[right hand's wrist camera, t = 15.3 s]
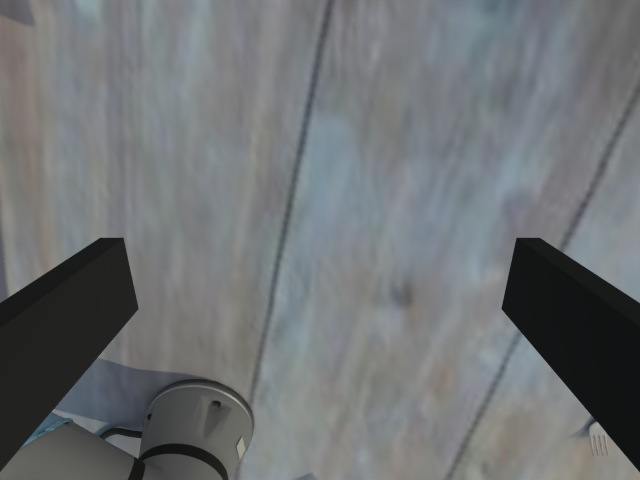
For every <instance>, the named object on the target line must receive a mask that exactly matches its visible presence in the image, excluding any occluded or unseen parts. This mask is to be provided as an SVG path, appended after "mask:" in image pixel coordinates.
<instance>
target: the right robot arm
mask: <svg viewBox="0 0 640 480" xmlns="http://www.w3.org/2000/svg"><path fill="white" fill-rule="evenodd" d="M137 310H138V304H137V299H136V295H135V290H134V285H133V281H132V276H131V271H130V267H129V262H128V257H127V253H126V248H125V243H124V239H123V238H99V239H98V240H96V241H95V242H93V243H92V244H90V245H89V246H87V247H86V248H84V249H83V250H81V251H80V252H78V253H76V254H75V255H73V256H72V257H70V258H69V259H67V260H66V261H64V262H63V263H61V264H60V265H58V266H57V267H55V268H53V269H52V270H50V271H49V272H47V273H46V274H44V275H43V276H41V277H40V278H38V279H37V280H35V281H34V282H32V283H30V284H29V285H27V286H26V287H24V288H23V289H21V290H20V291H18V292H17V293H15V294H14V295H12V296H11V297H9V298H7V299H6V300H4V301H3V302H1V303H0V480H229V479H230V477H231V476H232V474H233V472H234V471H235V469H236V467H237V465H238V464H239V462H240V460H241V458H242V456H243V455H244V453H245V452H246V451H247V449H248V447H249V444H250V442H251V439H252V435H253V430H254V417H253V414H252V411H251V409H250V407H249V405H248V404H247V403H246V401H245V400H244V399H243V398H242V397H241V396H240V395H239V394H237V393H236V392H235V391H233V390H231V389H230V388H228V387H226V386H224V385H221V384H218V383H215V382H211V381H205V380H186V381H181V382H177V383H174V384H171V385H169V386H167V387H166V388H164V389H163V390H161V391H160V392H159V393H158V394H157V395H156V396H155V398H154V399H153V401H152V403H151V405H150V407H149V408H148V411H147V414H146V416H145V420H144V425H143V432H140V431H132V430H127V429H123V428H114V429H110V430H108V431H106V432H105V433H104V434H102V435H101V436H100V437H98V436H96V435H95V434H93V433H91V432H89V431H88V430H86V429H84V428H83V427H81V426H79V425H77V424H76V423H74V422H73V420H72V419H70V418H63V417H61V416H59V415H57V414H55V413H53V412H52V410H53V409H54V408H55V407H56V406H57V405H58V403H59V402H60V401H61V400H62V399H63V397H64V396H65V395H66V394H67V393H68V392H69V390H70V389H71V388H72V387H73V386H74V384H75V383H76V382H77V381H78V380H79V379H80V377H81V376H82V375H83V374H84V373H85V371H86V370H87V369H88V368H89V367H90V366H91V364H92V363H93V362H94V361H95V360H96V358H97V357H98V356H99V355H100V354H101V353H102V351H103V350H104V349H105V348H106V347H107V345H108V344H109V343H110V342H111V341H112V340H113V338H114V337H115V336H116V335H117V334H118V333H119V331H120V330H121V329H122V328H123V327H124V325H125V324H126V323H127V322H128V321H129V320H130V318H131V317H132V316H133V315H134V314H135V312H136V311H137ZM502 310H503V311H504V312H505V314H506V315H507V316H508V317H509V318H510V320H511V321H512V322H513V323H514V324H515V325H516V327H517V328H518V329H519V330H520V331H521V333H522V334H523V335H524V336H525V337H526V338H527V340H528V341H529V342H530V343H531V344H532V346H533V347H534V348H535V349H536V350H537V351H538V353H539V354H540V355H541V356H542V357H543V358H544V360H545V361H546V362H547V363H548V364H549V366H550V367H551V368H552V369H553V370H554V371H555V373H556V374H557V375H558V376H559V377H560V379H561V380H562V381H563V382H564V383H565V384H566V386H567V387H568V388H569V389H570V390H571V392H572V393H573V394H574V395H575V396H576V397H577V399H578V400H579V401H580V402H581V403H582V405H583V406H584V407H585V408H586V409H587V410H588V412H589V413H590V414H591V415H592V416H593V418H594V419H595V420H596V421H597V422H598V423H599V425H600V426H601V427H602V428H603V429H604V431H605V432H606V433H607V434H608V435H609V436H610V438H611V439H612V440H613V441H614V442H615V443H616V445H617V446H618V447H619V448H620V449H621V451H622V452H623V453H624V454H625V455H626V456H627V458H628V459H629V460H630V461H631V462H632V464H633V465H634V466H635V467H636V468H637V469H638V471H639V472H640V303H639V302H637V301H636V300H634V299H633V298H631V297H629V296H628V295H626V294H625V293H623V292H622V291H620V290H619V289H617V288H616V287H614V286H613V285H611V284H610V283H608V282H606V281H605V280H603V279H602V278H600V277H599V276H597V275H596V274H594V273H593V272H591V271H590V270H588V269H587V268H585V267H583V266H582V265H580V264H579V263H577V262H576V261H574V260H573V259H571V258H570V257H568V256H567V255H565V254H564V253H562V252H560V251H559V250H557V249H556V248H554V247H553V246H551V245H550V244H548V243H547V242H545V241H544V240H542V239H541V238H517V239H516V243H515V248H514V253H513V257H512V262H511V267H510V271H509V276H508V281H507V285H506V290H505V295H504V299H503V304H502ZM114 434H120V435H124V436H128V437H136V438H142V439H141V446H140V454H139V458H138V459H137V458H135V457H134V456H132V455H130V454H129V453H127V452H125V451H123V450H121V449H119V448H118V447H116V446H114V445H112V444H110V443H109V442H107V441H105V439H106V438H107V437H109V436H111V435H114Z"/></svg>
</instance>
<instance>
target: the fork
mask: <svg viewBox="0 0 640 480" xmlns="http://www.w3.org/2000/svg"><path fill="white" fill-rule="evenodd" d="M597 435H598V436H599V440H600V446H601V450H602V455H603V446H602V435H603V436H604V441H605V446H606V451H607V455H608V448H607V433H606V432H605V431H604V429H603V428H602V427H601V426H600V425H599V423H598V422H597V421H596V422H594V423H593V424H591V425H590V427H589V438H590V444H591V449H592V454H593V456H594V453H593V443H592V436H594V439H595V445H596V450H597V454H598V445H597ZM598 456H599V454H598ZM603 456H604V455H603ZM608 456H609V455H608Z"/></svg>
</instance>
